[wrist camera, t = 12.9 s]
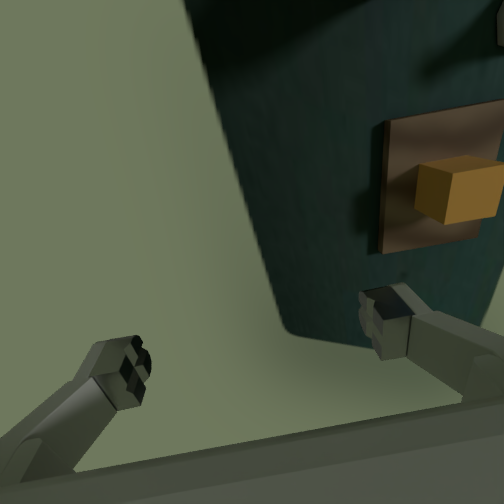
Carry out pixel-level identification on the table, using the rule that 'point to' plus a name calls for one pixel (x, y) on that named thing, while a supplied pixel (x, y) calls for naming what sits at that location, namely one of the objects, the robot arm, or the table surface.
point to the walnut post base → (427, 150)
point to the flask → (500, 25)
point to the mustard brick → (459, 189)
